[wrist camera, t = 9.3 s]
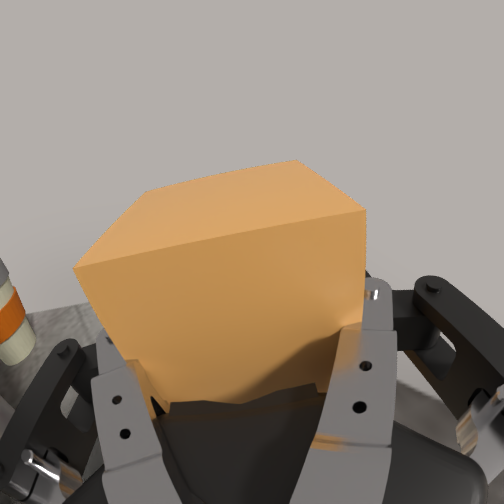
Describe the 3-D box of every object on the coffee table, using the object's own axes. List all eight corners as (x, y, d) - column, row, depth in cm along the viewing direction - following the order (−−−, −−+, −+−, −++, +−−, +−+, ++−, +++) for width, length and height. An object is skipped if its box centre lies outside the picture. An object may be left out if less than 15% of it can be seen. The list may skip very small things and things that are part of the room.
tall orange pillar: (206, 458, 10) (72, 268, 5) (209, 363, 15) (145, 191, 10) (343, 437, 9) (365, 209, 5) (314, 345, 15) (296, 159, 10)
